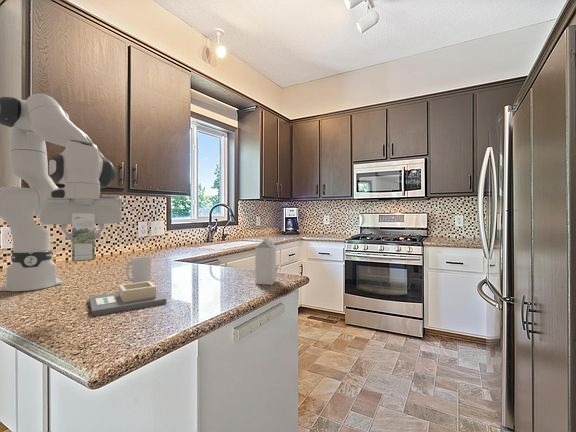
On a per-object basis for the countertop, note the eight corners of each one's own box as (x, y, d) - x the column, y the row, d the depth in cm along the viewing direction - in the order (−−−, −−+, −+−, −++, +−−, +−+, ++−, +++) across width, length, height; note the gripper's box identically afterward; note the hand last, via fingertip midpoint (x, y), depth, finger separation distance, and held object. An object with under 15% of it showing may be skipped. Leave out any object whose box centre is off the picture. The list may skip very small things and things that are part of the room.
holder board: (89, 300, 98) (88, 285, 98) (153, 291, 109) (153, 278, 109) (92, 316, 83) (92, 298, 83) (166, 303, 95) (166, 288, 95)
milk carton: (255, 284, 120) (255, 238, 120) (259, 280, 128) (259, 236, 127) (272, 285, 119) (272, 238, 119) (275, 281, 126) (275, 237, 126)
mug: (155, 287, 116) (155, 256, 116) (143, 291, 109) (143, 259, 109) (132, 286, 118) (132, 256, 118) (120, 290, 111) (119, 258, 111)
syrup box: (94, 258, 94) (94, 212, 94) (95, 260, 89) (94, 212, 89) (72, 259, 90) (71, 212, 90) (71, 262, 86) (71, 212, 86)
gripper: (120, 195, 98) (120, 236, 98) (41, 193, 86) (41, 240, 86) (123, 194, 93) (123, 238, 93) (38, 191, 81) (39, 241, 81)
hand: (83, 239), depth 90 cm, fingers closed on syrup box, 6 cm apart
